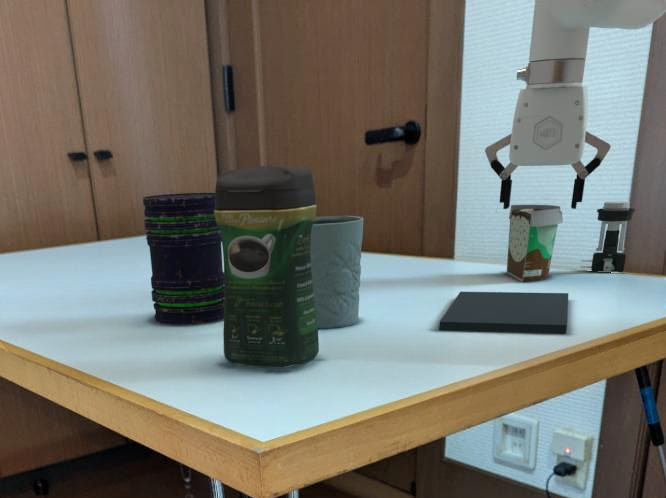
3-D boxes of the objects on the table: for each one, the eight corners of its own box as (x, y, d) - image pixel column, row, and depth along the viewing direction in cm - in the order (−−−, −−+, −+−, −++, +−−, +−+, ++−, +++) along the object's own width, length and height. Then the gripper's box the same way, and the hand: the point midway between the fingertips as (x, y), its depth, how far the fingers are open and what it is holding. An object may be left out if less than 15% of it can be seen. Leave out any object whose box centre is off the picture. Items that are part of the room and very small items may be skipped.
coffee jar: (329, 355, 85) (328, 162, 76) (295, 374, 79) (290, 166, 70) (250, 348, 89) (241, 165, 81) (212, 365, 83) (198, 169, 75)
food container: (567, 282, 119) (576, 209, 114) (525, 283, 119) (533, 211, 114) (542, 269, 130) (549, 203, 125) (504, 271, 130) (510, 204, 125)
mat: (567, 300, 106) (568, 293, 105) (566, 334, 89) (567, 324, 89) (459, 298, 110) (460, 291, 110) (438, 330, 93) (439, 321, 93)
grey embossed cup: (356, 330, 95) (357, 222, 90) (273, 329, 97) (270, 224, 92) (367, 313, 104) (368, 214, 98) (290, 313, 106) (288, 216, 101)
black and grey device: (579, 273, 125) (588, 204, 120) (579, 268, 129) (588, 201, 125) (626, 273, 123) (637, 203, 118) (624, 268, 127) (635, 200, 123)
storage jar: (215, 326, 101) (206, 197, 94) (142, 325, 103) (129, 199, 96) (236, 310, 109) (230, 191, 103) (169, 310, 112) (158, 194, 105)
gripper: (489, 78, 112) (477, 210, 120) (622, 72, 106) (601, 210, 114) (493, 80, 118) (482, 206, 126) (620, 74, 113) (600, 205, 120)
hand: (539, 208), depth 120 cm, fingers open, 9 cm apart
